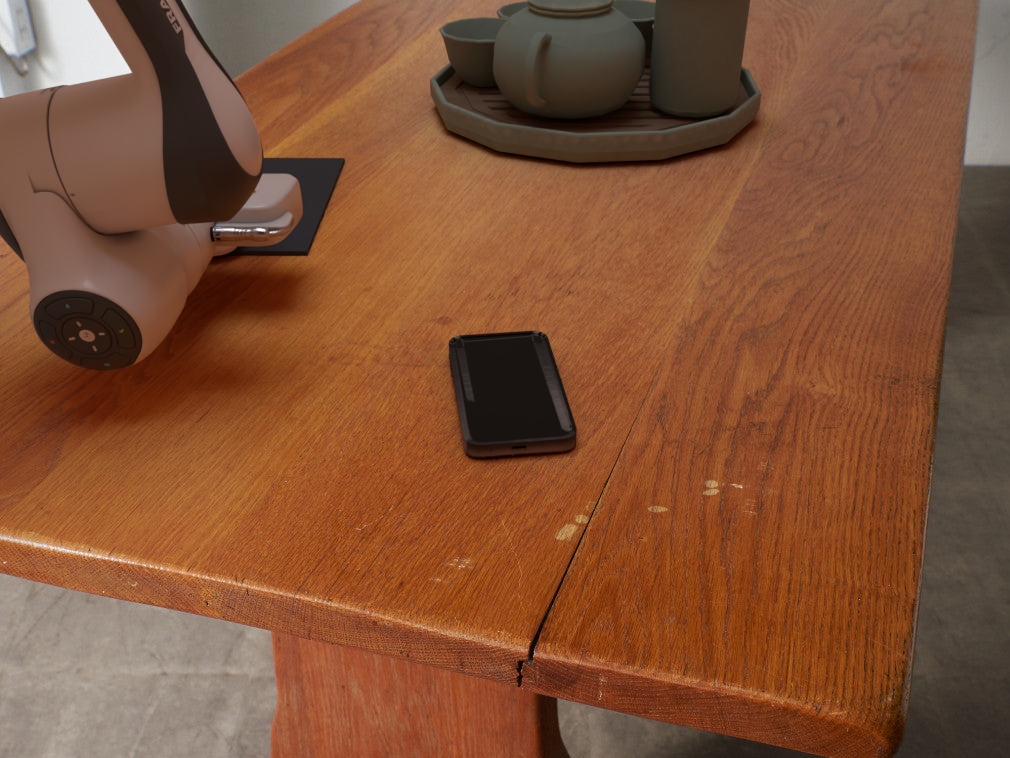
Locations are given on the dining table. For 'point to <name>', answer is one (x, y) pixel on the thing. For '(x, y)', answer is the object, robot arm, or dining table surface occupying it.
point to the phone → (510, 395)
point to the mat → (315, 192)
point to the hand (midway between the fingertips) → (200, 171)
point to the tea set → (599, 78)
